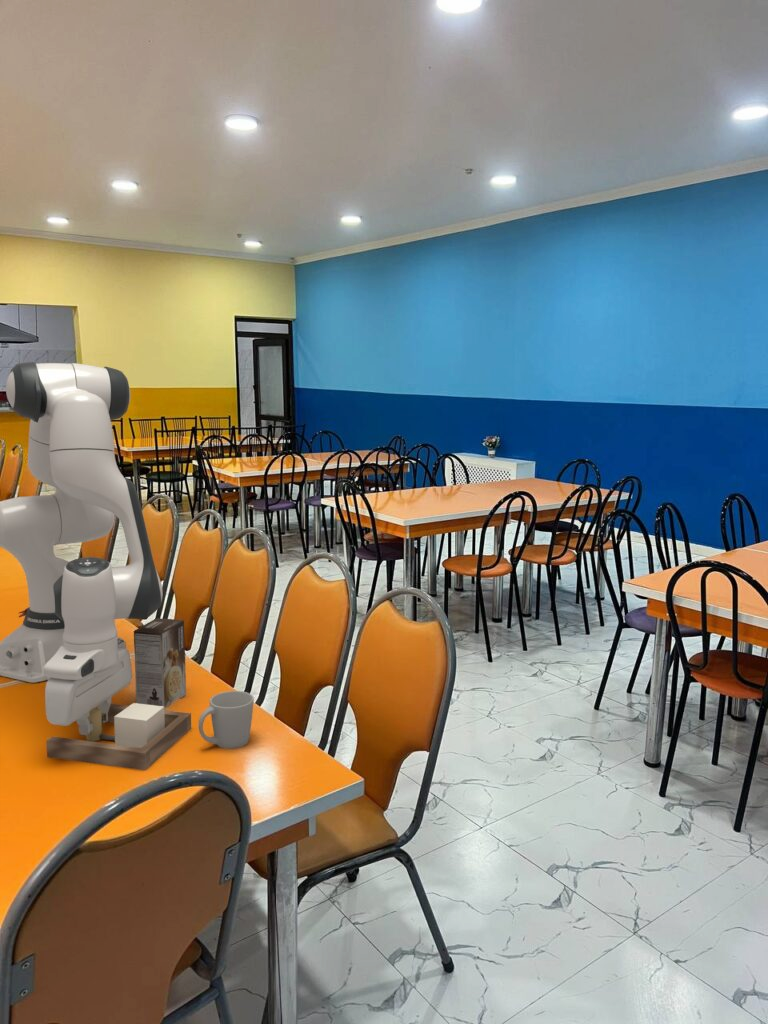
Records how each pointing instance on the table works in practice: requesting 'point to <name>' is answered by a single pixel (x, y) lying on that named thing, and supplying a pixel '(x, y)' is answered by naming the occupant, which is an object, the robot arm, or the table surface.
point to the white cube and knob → (130, 725)
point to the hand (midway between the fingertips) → (93, 727)
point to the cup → (229, 719)
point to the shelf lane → (118, 754)
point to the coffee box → (160, 662)
